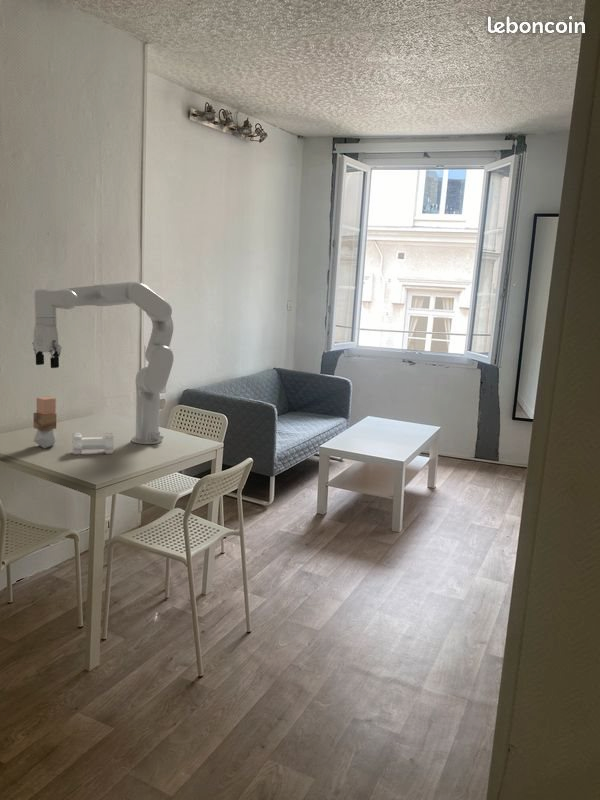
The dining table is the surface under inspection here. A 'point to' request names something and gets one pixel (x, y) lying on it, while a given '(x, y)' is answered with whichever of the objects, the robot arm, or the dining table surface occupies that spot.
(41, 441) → the die
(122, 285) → the robot arm
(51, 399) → the block terracotta
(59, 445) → the dining table surface
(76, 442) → the dog bone
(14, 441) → the dining table surface
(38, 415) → the block walnut
